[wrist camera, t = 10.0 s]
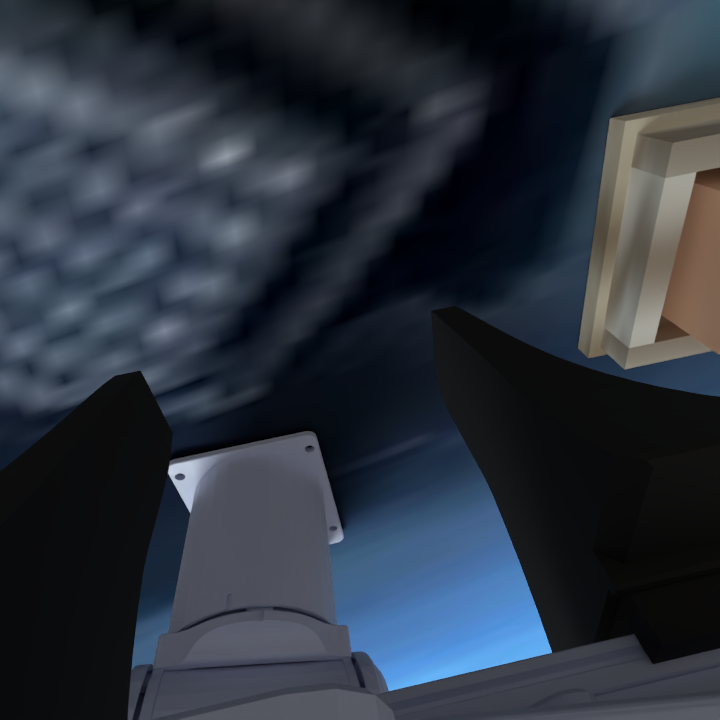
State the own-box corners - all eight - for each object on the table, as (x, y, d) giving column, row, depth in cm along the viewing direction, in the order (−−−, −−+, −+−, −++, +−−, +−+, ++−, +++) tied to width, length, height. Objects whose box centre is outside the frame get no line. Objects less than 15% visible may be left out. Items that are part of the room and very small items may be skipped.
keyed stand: (739, 313, 25) (790, 343, 23) (577, 348, 25) (611, 381, 22) (824, 76, 19) (906, 81, 16) (610, 118, 19) (661, 128, 16)
